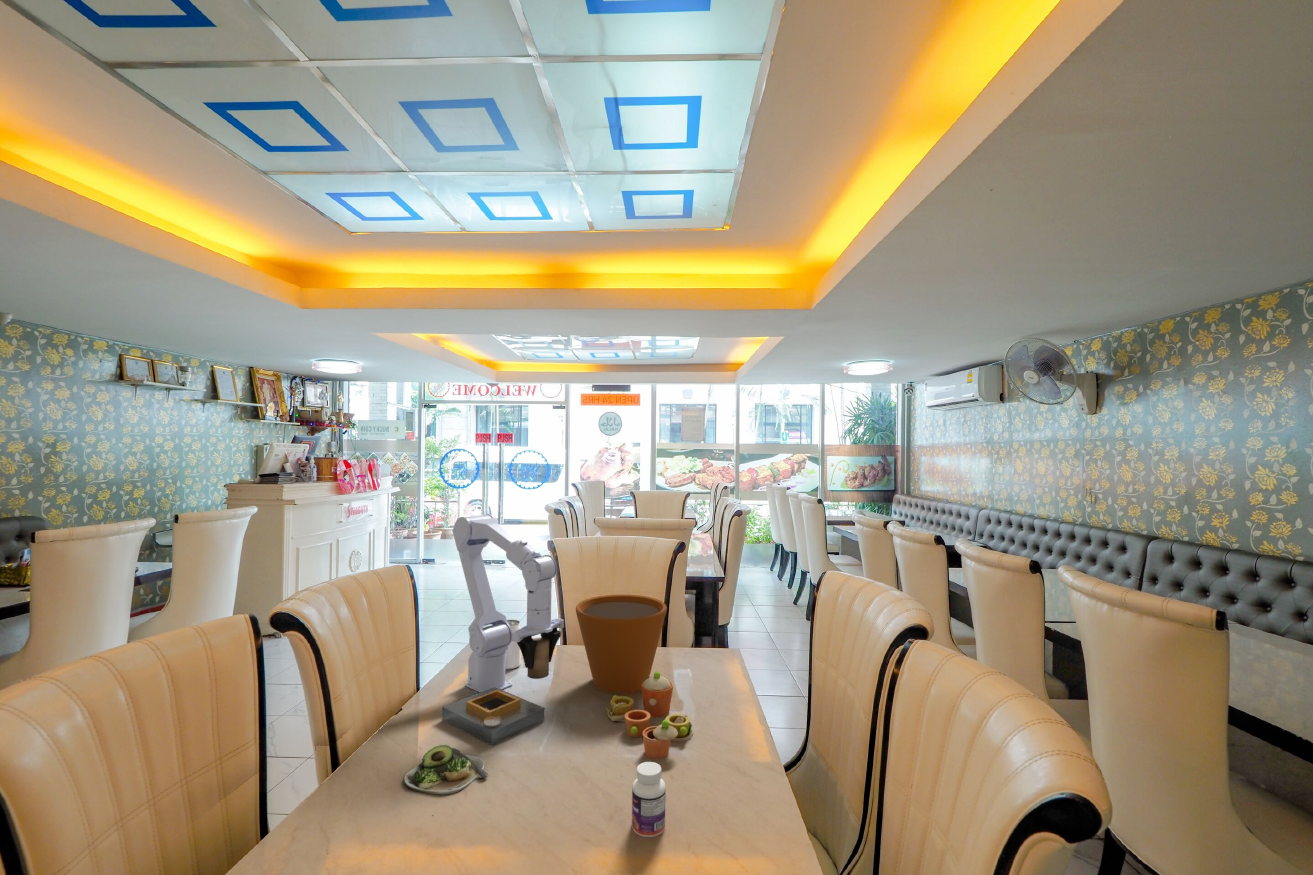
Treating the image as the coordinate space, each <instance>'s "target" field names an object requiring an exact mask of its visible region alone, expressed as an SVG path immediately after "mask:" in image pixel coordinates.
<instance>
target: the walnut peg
mask: <svg viewBox="0 0 1313 875" xmlns="http://www.w3.org/2000/svg"><path fill="white" fill-rule="evenodd" d="M532 638H533V640H535V641H537V642H538V643H537V645H536V649H535V654H534V666H533V669H529V668H527V677H528V678H530V679H533V680H540V679H541V680H542V679H544V678H547V677H548V676H549V675H550V666H549V665H550V662H549V639H547V638H541V637H532Z"/></svg>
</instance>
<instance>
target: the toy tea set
mask: <svg viewBox="0 0 1313 875" xmlns="http://www.w3.org/2000/svg"><path fill="white" fill-rule="evenodd" d="M641 690H642V691H641V698H642V704H643V709H635V708H634V704H635V700H634V699H633V698H631V697H630V696H626V695H623V696H622V695H619V696H618V695H617V694H615V695H613V696H612V698H611V700H610V707H611V708H610V709H608V708H607V707H605V709H606V711H607V717H608V718H609V719H610V720H611V721H613V722H624V725H625V731H626V734H627V735H628V736H630V737H634V738H641V737H642V739H643V747H644V754H645V755H646V756H647V757H649V758H651V759H663V758H665V757H667V756H668V754H669V750H670V745H671V741H672V742H685V741H689V740H690V739H691V738H692V737H693V736H694V730H693V729H692V727H693V724H692V723H691V719H690V718H689V716H688V715H687V714H681V713H673V714H670V708H671V702H672V696H673V692H674V691H673V690H674V685H673V683H672V682H671V681H669V680H668V679H667V678H665V677H664V676H662V675H661V672H659V671H655V672H654V673H653V675H651V676H649V678H648V679H646V680H645V681H644V682H643V683H642V685H641ZM662 717H663V718H664V717H665V719H664V720H662V721H661V724H659V725H653V726H650V722H651V718H662Z"/></svg>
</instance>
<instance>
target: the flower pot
mask: <svg viewBox="0 0 1313 875" xmlns="http://www.w3.org/2000/svg"><path fill="white" fill-rule="evenodd" d="M667 609H668V607H667V605H666V603H665V602H663V601H662V600H660V599H658V598H654V597H650V596H645V595H636V594H607V595H600V596H594V597H589V598H586V599H584V600H582V601H580V602H579V603H577V605H576V607H575V613H576V618H577V621H578V622H577V623H578V625H579V629H580V633H581V637H582V641H583V645H584V649H585V654H586V658H587V661H588V665H589V669H590V672H591V677H592V681H593V682H592V683H593V685H594V686H595V687H596V688H597V689H598V688H599V689H598V690H600V689H601V690H600V691H602V690H603V692H605V693H610V694H615V693H616V694H615V695H617V694H618V695H630V694H635V693H639V692H642V690H641V685H642V683H643V682H644V681H645V680H646V679H648V678H649V677H651V676H650V675H651V673H652V668H653V665H654V660H655V656H656V654H657V648H658V645H659V642H660V637H661V633H662V630H663V626H664V624H665V617H666V615H667V611H668V610H667Z"/></svg>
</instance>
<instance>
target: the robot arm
mask: <svg viewBox="0 0 1313 875" xmlns="http://www.w3.org/2000/svg"><path fill="white" fill-rule="evenodd" d="M452 534H453V538H454V542H455V546H456V550H457V552H458V555H459V559H460V563H461V567H462V570H463V575H464V579H465V582H466V587H467V590H468V594H469V598H470V601H471V605H472V609H473V614H474V617H475V618H474V619H473V620H472V622H470V623H471V624H470V625H469V626H468V628H467V629H468V634H469V638H468V639H469V640H468V643H469V647H470V649H471V651H472V652H471V654H470V655H469V658H468V661H467V662H468V664H467V665H468V667H467V668H468V669H467V683H464V686H465V687H467V688H468V689H471V690H473V691H475V692H478V693H480V692H483V691H485V690H488V689H490V688H493V687H496V688H498V689H501V690H503V691H504V690H505V689H508V688H510V687H512V686H513V683H512V682H509V681H507V680H506V669H505V657H506V650H508V645H509V644H510V643H511V642H512V641H514V642H517V644H518V646H519V648H520V650H521V655H522V659H523V662H524V667H525V668H526V669H528V668H529V669H533V666H534V654H535V649H536V645H537V643H538V642H537V641H535V640H533V638H534V637H535V636H538V635H540V638H547V639H549V663H551V662H552V658H553V654H554V651H555V648H556V646H557V644H558V641H559V639H560V638H561V637H562V631H561V630H558V629H563V628H564V627H565V620H564V619H562V618H555V619H554V618H553V619H552V581H553V580H552V579H553V578H554V577H555V576H556V575H557V571H558V565H557V562H556V560H555V558H554V557H552V555H551V554H545V555H544V554H541V553H540V551H538V550H535V548H533V547H532V546H530V545H529V543H528V541H527V540H526V539H518V540H516V539H515V538H514V537H512V536H511V535H510V534H509V533H508V532H507V531H506V530H505V529H504V528H502V526H501V525H500V524H499V519H498V518H496V517H495V516H493V515H492V514H490V513H486V514H482V515H481V514H480V515H474V516H472V515H471V516H460V517H458V518H457V519H456V520H455V523H454V525H453V528H452ZM490 542H491V543H492V544H494V545H495V546H497V547H498V548H500V549H501V550H503V551H504V552H505V556H506V559H507V560H508V561H509V562H510V563H512V565H514V566H516V567H517V569H519V570H520V571H521V574H522V577H523V579H524V583H525V584H524V585H525V586H524V587H525V589H526V591H527V592H526V593H527V594H526V624H525V625H524V626H522V627H521V629H519V630H517V631H515V632H512V629H511V627H510V625H509V624H508V622H507V620H508V619H507V616H506V615H505V614H503V613H501V612H500V611H498V610H497V609H496V608H497V607H496V605H495V601H494V597H493V594H492V589H491V586H490V582H489V578H488V575H487V570H486V568H485V563H484V560H483V556H482V553H483V550H484V548H485V547H487V546H488V544H489V543H490ZM485 626H486V627H485ZM564 629H565V628H564Z"/></svg>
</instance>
